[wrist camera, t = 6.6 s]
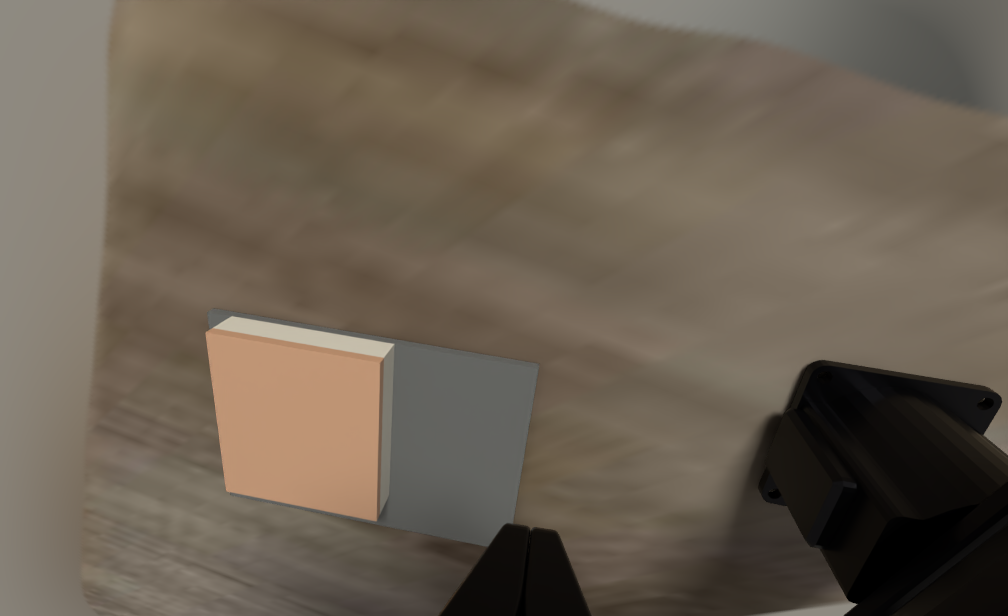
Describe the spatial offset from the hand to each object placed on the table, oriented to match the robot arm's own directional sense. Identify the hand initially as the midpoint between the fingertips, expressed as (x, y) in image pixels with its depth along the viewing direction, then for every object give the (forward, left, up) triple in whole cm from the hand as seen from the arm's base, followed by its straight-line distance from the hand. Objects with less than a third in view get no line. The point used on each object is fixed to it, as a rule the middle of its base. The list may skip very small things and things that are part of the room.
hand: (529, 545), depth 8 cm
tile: (+6, +7, -11) cm, 14 cm away
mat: (+7, +8, -12) cm, 16 cm away
